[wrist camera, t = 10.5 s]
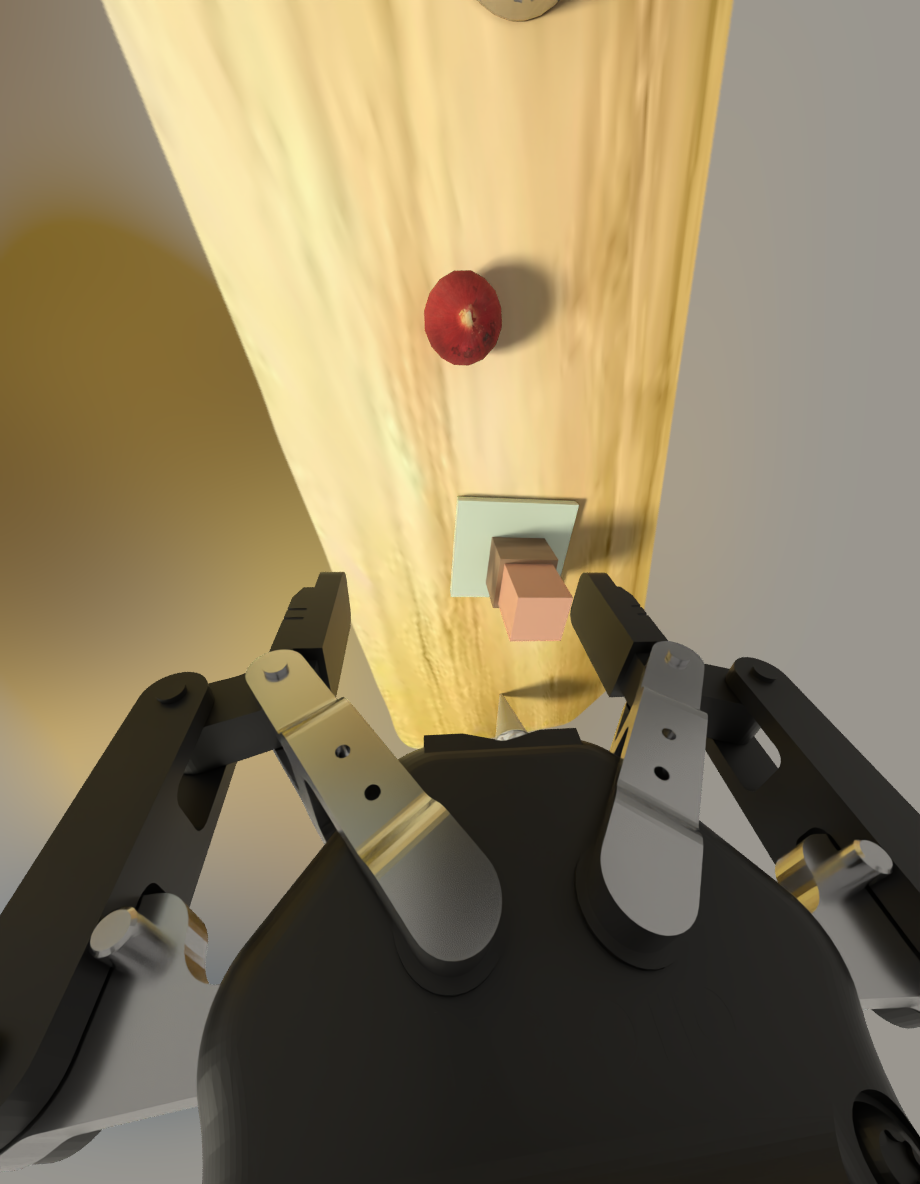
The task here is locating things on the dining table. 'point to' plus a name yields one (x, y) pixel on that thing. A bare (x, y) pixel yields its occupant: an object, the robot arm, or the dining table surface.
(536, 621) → the terracotta block
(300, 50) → the dining table surface
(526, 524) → the sage board
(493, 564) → the walnut block
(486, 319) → the red oval piece
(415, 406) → the dining table surface
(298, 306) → the dining table surface
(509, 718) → the ice cream cone
